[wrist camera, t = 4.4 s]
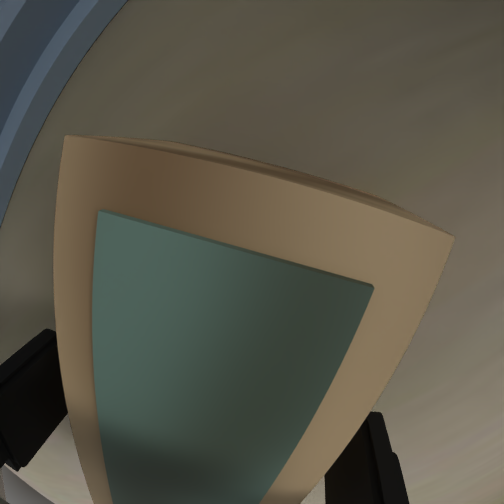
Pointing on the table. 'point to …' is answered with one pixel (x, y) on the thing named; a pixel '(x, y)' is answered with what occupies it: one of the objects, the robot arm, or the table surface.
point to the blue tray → (39, 69)
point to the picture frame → (225, 318)
